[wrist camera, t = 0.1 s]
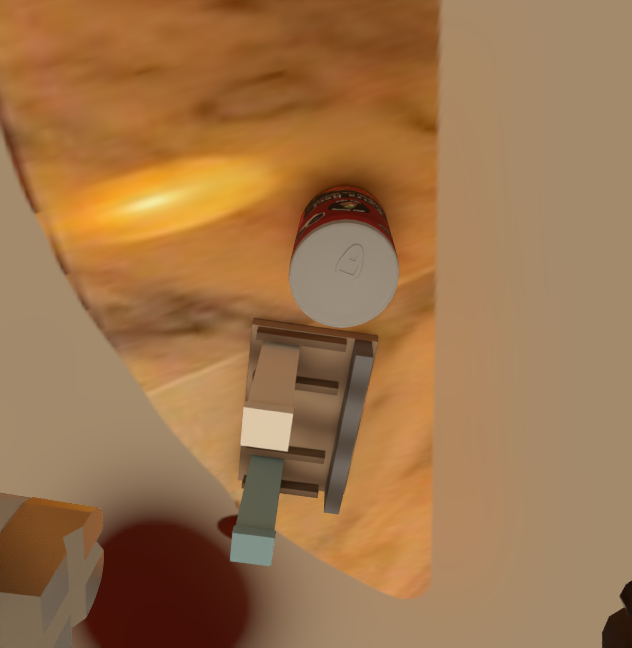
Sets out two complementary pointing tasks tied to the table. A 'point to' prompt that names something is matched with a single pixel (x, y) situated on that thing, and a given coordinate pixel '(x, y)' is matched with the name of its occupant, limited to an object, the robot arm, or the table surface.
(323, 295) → the canned food
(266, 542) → the light blue tall block
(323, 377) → the board
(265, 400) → the cream tall block
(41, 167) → the table surface
